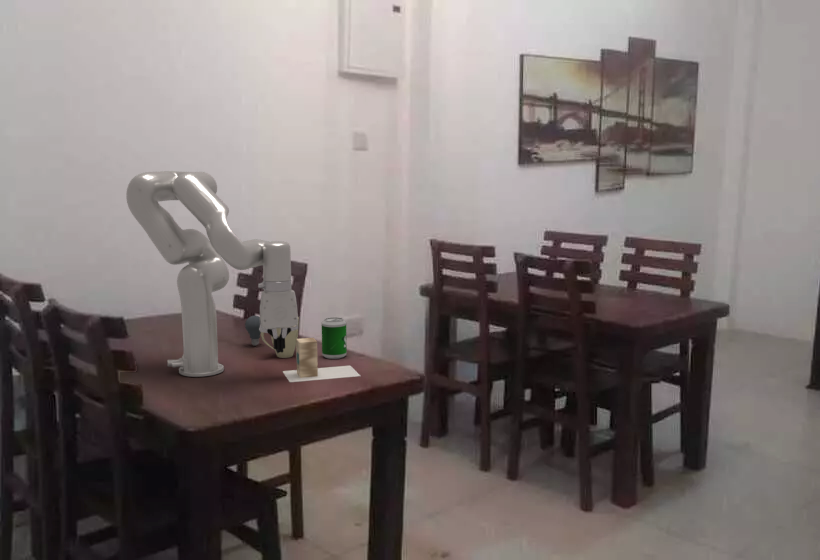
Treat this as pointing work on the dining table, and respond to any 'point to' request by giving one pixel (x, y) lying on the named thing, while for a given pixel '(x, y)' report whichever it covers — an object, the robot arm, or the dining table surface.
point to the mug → (289, 343)
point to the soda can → (334, 338)
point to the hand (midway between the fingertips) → (279, 351)
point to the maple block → (306, 357)
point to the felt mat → (323, 374)
